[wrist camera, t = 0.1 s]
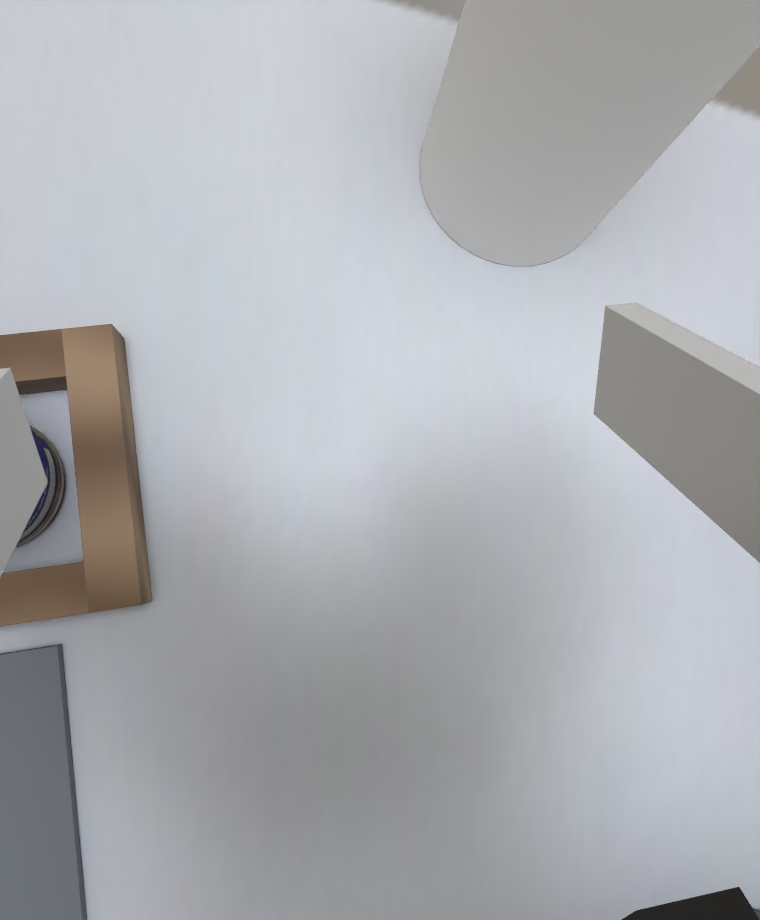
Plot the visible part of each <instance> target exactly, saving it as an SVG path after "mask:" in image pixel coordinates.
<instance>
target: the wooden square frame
mask: <svg viewBox="0 0 760 920" xmlns="http://www.w3.org/2000/svg"><path fill="white" fill-rule="evenodd" d="M3 368H11V371H12V374H13V377H14V380H15V383H16V386H17V389H18V392H19V395H20V394H29V393H38V392H47V391H56V390H64V389H67V391H68V401H69V412H70V422H71V433H72V443H73V454H74V464H75V474H76V485H77V495H78V506H79V516H80V526H81V537H82V547H83V558H84V562H79V563H72V564H65V565H58V566H51V567H44V568H37V569H31V570H24V571H17V572H10V573H3V574H2V575H1V577H0V626H5V625H12V624H18V623H25V622H31V621H38V620H44V619H51V618H57V617H64V616H70V615H77V614H83V613H90V612H96V611H103V610H110V609H116V608H123V607H129V606H136V605H142V604H145V603H148V602H151V601H152V595H151V586H150V577H149V567H148V558H147V548H146V539H145V530H144V520H143V511H142V502H141V492H140V483H139V473H138V464H137V455H136V445H135V436H134V427H133V417H132V408H131V398H130V389H129V380H128V370H127V361H126V351H125V342H124V338H123V337H122V336H121V334H120V333H119V332H118V331H117V330H116V329H115V327H114V326H113V325H112V324H107V325H97V326H87V327H77V328H67V329H58V330H48V331H38V332H28V333H18V334H9V335H0V369H3Z"/></svg>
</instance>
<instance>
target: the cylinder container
mask: <svg viewBox="0 0 760 920" xmlns="http://www.w3.org/2000/svg"><path fill="white" fill-rule="evenodd" d="M759 46H760V0H466V1H465V4H464V8H463V11H462V15H461V18H460V21H459V24H458V28H457V31H456V35H455V38H454V41H453V45H452V48H451V52H450V55H449V58H448V62H447V65H446V69H445V72H444V75H443V79H442V82H441V86H440V89H439V92H438V96H437V99H436V103H435V106H434V109H433V113H432V116H431V120H430V123H429V126H428V130H427V133H426V137H425V140H424V143H423V147H422V151H421V158H420V179H421V186H422V190H423V193H424V197H425V200H426V202H427V205H428V207H429V209H430V211H431V213H432V215H433V216H434V218H435V220H436V221H437V222H438V224H439V225H440V226H441V228H442V229H443V230H444V231H445V232H446V233H447V235H449V236H450V237H451V238H452V239H453V240H454V241H455V242H456V243H457V244H459V245H460V246H461V247H463V248H464V249H466V250H467V251H469V252H471V253H472V254H474V255H476V256H478V257H480V258H483V259H486V260H488V261H491V262H494V263H498V264H503V265H509V266H534V265H539V264H544V263H548V262H551V261H553V260H556V259H558V258H560V257H562V256H564V255H566V254H568V253H569V252H571V251H572V250H574V249H575V248H576V247H578V246H579V245H580V244H581V243H582V242H583V241H584V240H585V239H586V238H587V236H588V235H589V234H590V233H591V232H592V231H593V230H594V229H595V228H596V226H597V225H598V224H599V223H600V222H601V221H602V220H603V219H604V218H605V217H606V215H607V214H608V213H609V212H610V211H611V210H612V209H613V208H614V207H615V205H616V204H617V203H618V202H619V201H620V200H621V199H622V198H623V197H624V196H625V194H626V193H627V192H628V191H629V190H630V189H631V188H632V187H633V186H634V184H635V183H636V182H637V181H638V180H639V179H640V178H641V177H642V176H643V174H644V173H645V172H646V171H647V170H648V169H649V168H650V167H651V166H652V165H653V163H654V162H655V161H656V160H657V159H658V158H659V157H660V156H661V155H662V153H663V152H664V151H665V150H666V149H667V148H668V147H669V146H670V145H671V144H672V142H673V141H674V140H675V139H676V138H677V137H678V136H679V135H680V134H681V132H682V131H683V130H684V129H685V128H686V127H687V126H688V125H689V124H690V122H691V121H692V120H693V119H694V118H695V117H696V116H697V115H698V114H699V113H700V111H701V110H702V109H703V108H704V107H705V106H706V105H707V104H708V103H709V101H710V100H711V99H712V98H713V97H714V96H715V95H716V94H717V93H718V92H719V90H720V89H721V88H722V87H723V86H724V85H725V84H726V83H727V81H728V80H729V79H730V78H731V77H732V76H733V75H734V74H735V73H736V72H737V70H738V69H739V68H740V67H741V66H742V65H743V63H745V61H747V59H748V58H749V57H750V56H751V55H752V54H753V53H754V52H755V51H756V49H757V48H758V47H759Z"/></svg>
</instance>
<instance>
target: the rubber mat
mask: <svg viewBox="0 0 760 920" xmlns="http://www.w3.org/2000/svg"><path fill="white" fill-rule="evenodd" d="M0 920H87V917H86V906H85V895H84V884H83V873H82V862H81V851H80V840H79V829H78V818H77V807H76V796H75V785H74V774H73V763H72V752H71V741H70V730H69V719H68V708H67V697H66V686H65V675H64V664H63V653H62V644H60V645H54V646H47V647H41V648H35V649H28V650H22V651H16V652H9V653H3V654H0Z"/></svg>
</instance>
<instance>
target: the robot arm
mask: <svg viewBox="0 0 760 920" xmlns="http://www.w3.org/2000/svg"><path fill="white" fill-rule="evenodd" d="M594 414H595V415H596V416H597V417H598V418H599V419H600V420H601V421H602V422H603V423H605V424H606V425H607V426H608V427H609V428H610V429H611V430H612V431H614V432H615V433H616V434H617V435H618V436H619V437H620V438H621V439H622V440H624V441H625V442H626V443H627V444H628V445H629V446H630V447H631V448H632V449H634V450H635V451H636V452H637V453H638V454H639V455H640V456H641V457H642V458H644V459H645V460H646V461H647V462H648V463H649V464H650V465H651V466H652V467H654V468H655V469H656V470H657V471H658V472H659V473H660V474H661V475H663V476H664V477H665V478H666V479H667V480H668V481H669V482H670V483H671V484H673V485H674V486H675V487H676V488H677V489H678V490H679V491H680V492H681V493H683V494H684V495H685V496H686V497H687V498H688V499H689V500H690V501H691V502H693V503H694V504H695V505H696V506H697V507H698V508H699V509H700V510H701V511H703V512H704V513H705V514H706V515H707V516H708V517H709V518H710V519H712V520H713V521H714V522H715V523H716V524H717V525H718V526H719V527H720V528H722V529H723V530H724V531H725V532H726V533H727V534H728V535H729V536H730V537H732V538H733V539H734V540H735V541H736V542H737V543H738V544H739V545H740V546H742V547H743V548H744V549H745V550H746V551H747V552H748V553H749V554H750V555H752V556H753V557H754V558H755V559H756V560H757V561H758V562H759V563H760V367H759V366H757V365H755V364H753V363H751V362H749V361H747V360H745V359H744V358H742V357H740V356H738V355H736V354H734V353H732V352H730V351H728V350H726V349H724V348H722V347H720V346H719V345H717V344H715V343H713V342H711V341H709V340H707V339H705V338H703V337H701V336H699V335H697V334H696V333H694V332H692V331H690V330H688V329H686V328H684V327H682V326H680V325H678V324H676V323H674V322H672V321H671V320H669V319H667V318H665V317H663V316H661V315H659V314H657V313H655V312H653V311H651V310H649V309H647V308H646V307H644V306H642V305H640V304H638V303H628V304H618V305H609V306H605V314H604V324H603V333H602V342H601V351H600V360H599V369H598V379H597V388H596V397H595V406H594ZM47 483H48V481H47V478H46V475H45V472H44V469H43V466H42V463H41V460H40V457H39V454H38V451H37V448H36V445H35V441H34V438H33V435H32V432H31V429H30V426H29V423H28V420H27V417H26V414H25V411H24V408H23V405H22V402H21V399H20V396H19V392H18V389H17V386H16V383H15V380H14V377H13V374H12V371H11V368H3V369H0V577H1V575H2V573H3V571H4V569H5V567H6V565H7V563H8V561H9V559H10V557H11V555H12V553H13V551H14V549H15V547H16V545H17V543H18V541H19V539H20V537H21V535H22V533H23V531H24V529H25V527H26V525H27V523H28V521H29V519H30V517H31V515H32V513H33V511H34V509H35V507H36V505H37V503H38V501H39V499H40V497H41V495H42V493H43V491H44V489H45V487H46V485H47ZM622 920H760V911H757V910H753V908H752V907H751V905H750V904H749V902H748V900H747V899H746V897H745V896H744V894H743V892H742V891H741V889H740V888H739V887H737V888H732V889H728V890H724V891H719V892H715V893H711V894H706V895H702V896H697V897H693V898H689V899H684V900H680V901H676V902H671V903H667V904H663V905H658V906H654V907H650V908H645V909H641V910H637V911H635V912H633V913H632V914H630V915H628V916H627V917H625V918H624V919H622Z"/></svg>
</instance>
